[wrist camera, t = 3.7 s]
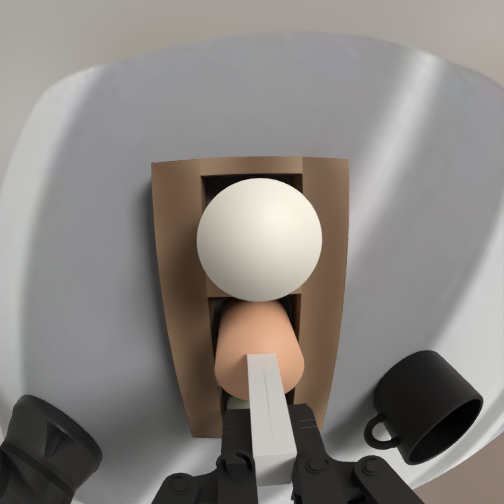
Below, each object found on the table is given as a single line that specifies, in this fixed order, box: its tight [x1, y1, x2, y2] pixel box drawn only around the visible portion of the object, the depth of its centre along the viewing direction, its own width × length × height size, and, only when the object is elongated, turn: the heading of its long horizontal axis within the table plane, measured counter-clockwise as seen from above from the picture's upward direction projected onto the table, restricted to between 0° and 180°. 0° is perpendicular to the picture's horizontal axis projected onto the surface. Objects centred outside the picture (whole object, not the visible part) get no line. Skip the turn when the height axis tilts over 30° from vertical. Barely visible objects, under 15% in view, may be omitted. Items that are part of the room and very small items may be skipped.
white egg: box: [197, 178, 322, 302], centre depth 14 cm, size 5×5×6 cm
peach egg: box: [215, 297, 304, 401], centre depth 17 cm, size 5×5×6 cm
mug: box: [364, 350, 483, 465], centre depth 19 cm, size 9×12×9 cm
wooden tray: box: [151, 157, 349, 438], centre depth 19 cm, size 12×23×3 cm, turn 1°
